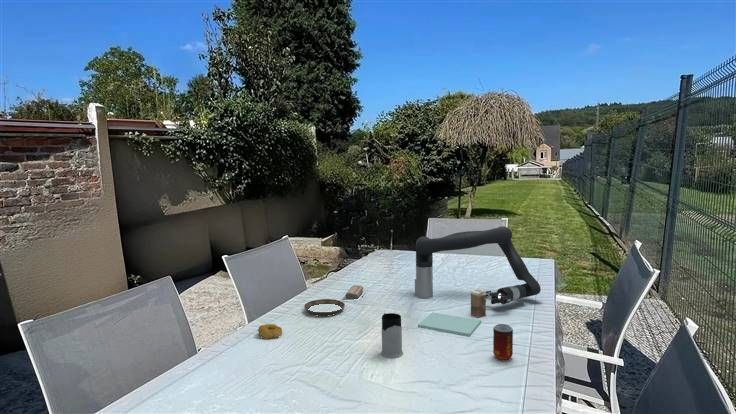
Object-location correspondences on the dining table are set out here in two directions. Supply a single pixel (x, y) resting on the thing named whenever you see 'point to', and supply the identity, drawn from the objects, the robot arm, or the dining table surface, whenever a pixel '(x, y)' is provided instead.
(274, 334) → the bagel
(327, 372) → the dining table surface
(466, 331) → the sage board
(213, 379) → the dining table surface
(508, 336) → the soda can
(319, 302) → the plant saucer
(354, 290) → the packaged product
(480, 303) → the brown tall square block
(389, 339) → the glass holder
